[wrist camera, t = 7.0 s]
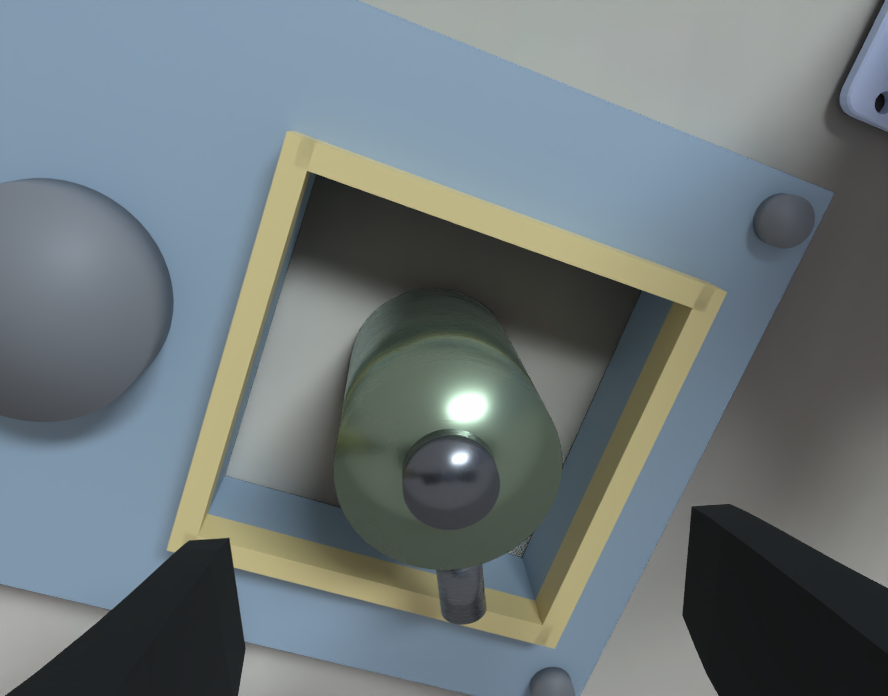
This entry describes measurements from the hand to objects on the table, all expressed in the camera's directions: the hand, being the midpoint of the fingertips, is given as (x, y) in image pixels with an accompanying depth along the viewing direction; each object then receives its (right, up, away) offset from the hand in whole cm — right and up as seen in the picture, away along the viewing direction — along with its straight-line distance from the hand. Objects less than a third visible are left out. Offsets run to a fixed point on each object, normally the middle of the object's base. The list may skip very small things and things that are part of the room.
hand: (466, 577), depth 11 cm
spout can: (-1, +3, +8) cm, 9 cm away
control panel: (-3, +4, +8) cm, 9 cm away
